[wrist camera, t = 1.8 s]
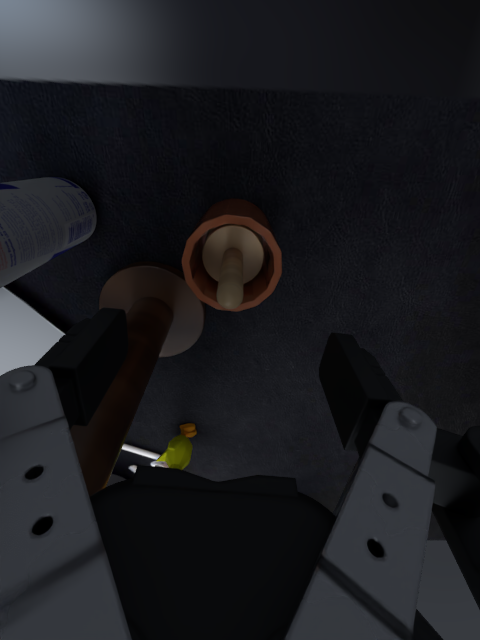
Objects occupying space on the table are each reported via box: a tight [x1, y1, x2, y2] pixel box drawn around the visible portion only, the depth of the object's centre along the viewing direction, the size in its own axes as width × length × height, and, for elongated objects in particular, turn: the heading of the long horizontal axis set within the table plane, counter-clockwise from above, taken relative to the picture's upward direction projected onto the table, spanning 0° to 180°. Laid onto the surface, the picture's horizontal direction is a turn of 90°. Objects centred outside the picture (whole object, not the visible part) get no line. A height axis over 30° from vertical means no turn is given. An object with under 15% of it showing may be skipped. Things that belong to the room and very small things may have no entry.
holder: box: [182, 199, 282, 311], centre depth 22 cm, size 6×6×8 cm
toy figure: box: [156, 423, 197, 470], centre depth 32 cm, size 7×4×12 cm, turn 97°
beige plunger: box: [202, 223, 264, 309], centre depth 20 cm, size 5×5×12 cm
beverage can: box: [0, 177, 97, 288], centre depth 18 cm, size 5×5×15 cm
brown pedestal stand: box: [70, 261, 206, 497], centre depth 18 cm, size 13×13×25 cm
